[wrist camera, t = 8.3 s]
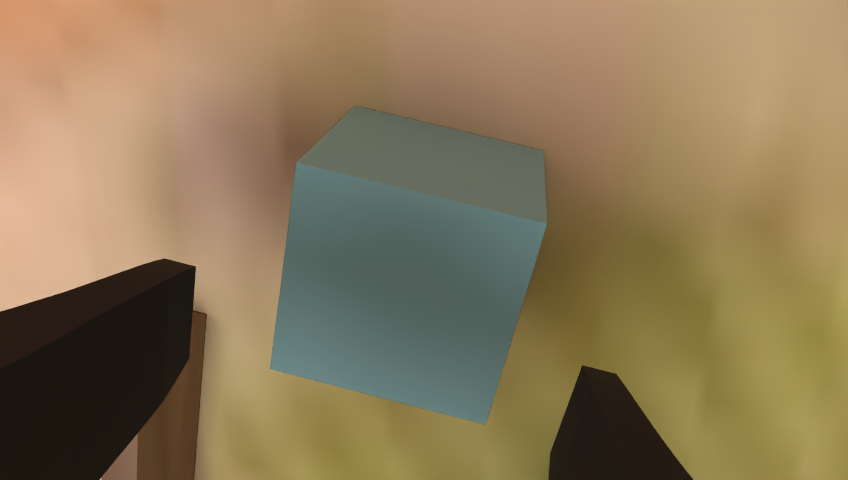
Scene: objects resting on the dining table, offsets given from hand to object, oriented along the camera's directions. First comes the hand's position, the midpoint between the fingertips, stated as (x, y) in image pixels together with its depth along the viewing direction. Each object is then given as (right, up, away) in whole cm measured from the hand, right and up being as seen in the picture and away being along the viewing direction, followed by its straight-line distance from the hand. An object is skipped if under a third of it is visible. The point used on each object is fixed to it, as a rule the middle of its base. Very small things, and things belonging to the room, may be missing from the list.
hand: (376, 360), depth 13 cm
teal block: (+1, +3, +6) cm, 7 cm away
